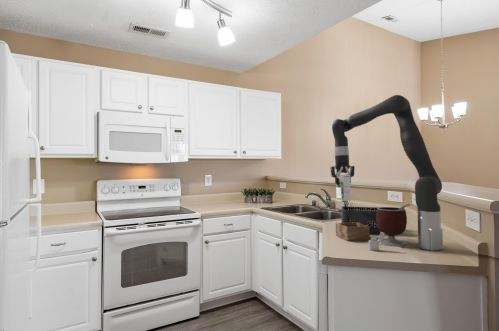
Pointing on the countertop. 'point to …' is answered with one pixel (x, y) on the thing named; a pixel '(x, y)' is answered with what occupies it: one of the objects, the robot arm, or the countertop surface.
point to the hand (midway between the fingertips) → (343, 184)
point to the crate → (353, 231)
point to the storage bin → (361, 217)
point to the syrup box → (343, 188)
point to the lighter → (376, 242)
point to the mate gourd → (391, 223)
